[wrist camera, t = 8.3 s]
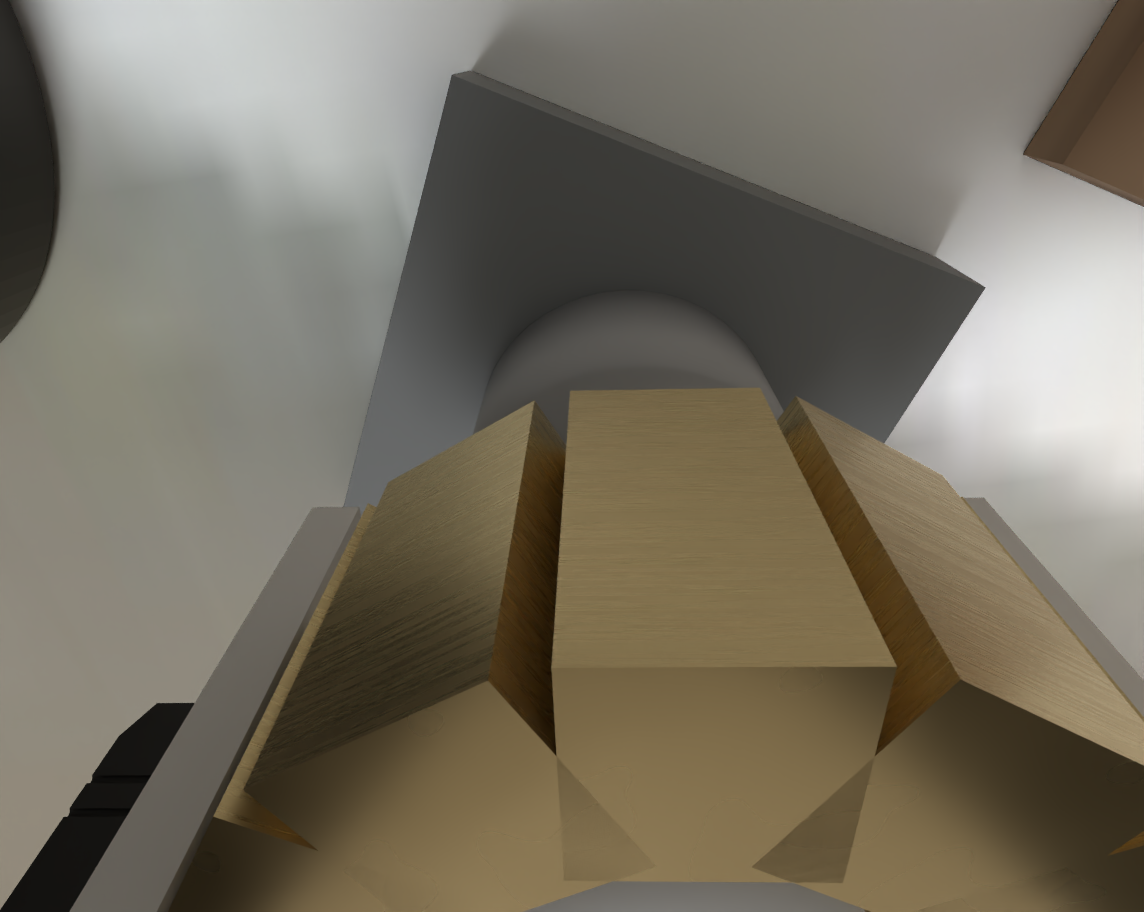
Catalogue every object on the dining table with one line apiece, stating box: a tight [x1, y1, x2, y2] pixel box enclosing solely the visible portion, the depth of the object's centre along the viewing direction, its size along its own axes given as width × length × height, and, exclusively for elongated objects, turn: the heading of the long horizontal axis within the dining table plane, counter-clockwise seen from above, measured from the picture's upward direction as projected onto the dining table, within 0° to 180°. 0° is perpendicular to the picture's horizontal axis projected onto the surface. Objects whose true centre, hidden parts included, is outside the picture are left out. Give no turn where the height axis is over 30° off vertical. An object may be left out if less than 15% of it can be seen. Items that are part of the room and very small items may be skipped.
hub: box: [344, 71, 986, 912], centre depth 13 cm, size 11×11×13 cm
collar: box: [168, 388, 1144, 912], centre depth 8 cm, size 9×9×4 cm
